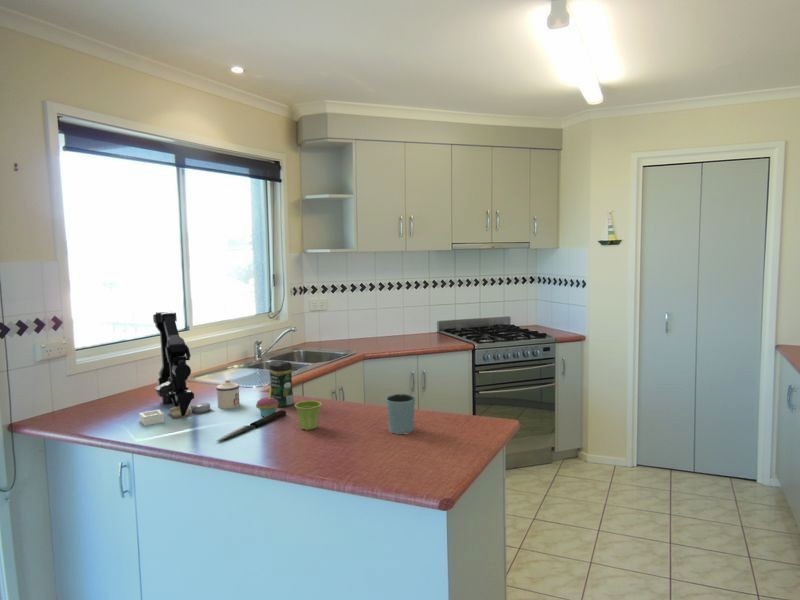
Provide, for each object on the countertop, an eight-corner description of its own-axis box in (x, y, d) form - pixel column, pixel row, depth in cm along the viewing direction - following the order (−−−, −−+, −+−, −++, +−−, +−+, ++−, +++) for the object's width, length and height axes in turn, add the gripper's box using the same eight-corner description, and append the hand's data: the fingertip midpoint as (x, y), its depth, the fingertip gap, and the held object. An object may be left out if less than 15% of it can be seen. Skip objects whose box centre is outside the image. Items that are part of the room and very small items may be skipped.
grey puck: (188, 410, 224) (188, 405, 224) (206, 406, 229) (205, 401, 229) (195, 414, 219) (195, 409, 218) (213, 410, 224) (213, 405, 223)
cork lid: (168, 414, 219) (167, 408, 219) (186, 410, 224) (186, 404, 224) (174, 418, 214) (173, 411, 214) (192, 414, 219) (192, 408, 218)
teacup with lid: (238, 409, 227) (237, 381, 225) (215, 411, 225) (213, 382, 224) (242, 402, 238) (241, 375, 237) (220, 403, 237) (219, 376, 236)
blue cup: (412, 425, 202) (411, 392, 201) (418, 434, 192) (418, 400, 191) (384, 427, 200) (383, 395, 199) (390, 437, 190) (389, 402, 189)
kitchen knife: (275, 409, 220) (286, 410, 218) (275, 414, 220) (286, 415, 218) (210, 437, 188) (221, 439, 186) (210, 443, 188) (222, 445, 186)
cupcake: (283, 413, 220) (282, 383, 219) (270, 419, 212) (268, 388, 211) (266, 411, 224) (264, 382, 222) (252, 417, 216) (250, 386, 215)
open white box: (139, 423, 212) (139, 412, 211) (159, 419, 216) (158, 409, 215) (144, 427, 206) (143, 417, 206) (164, 423, 210) (163, 413, 210)
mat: (166, 415, 221) (166, 413, 221) (206, 408, 230) (206, 406, 230) (173, 421, 213) (173, 419, 213) (215, 413, 222) (215, 411, 222)
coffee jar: (267, 404, 233) (265, 360, 232) (282, 400, 239) (280, 357, 238) (281, 408, 227) (279, 363, 225) (296, 404, 233) (295, 360, 231)
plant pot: (326, 424, 205) (325, 401, 204) (314, 432, 196) (313, 408, 195) (303, 422, 208) (303, 399, 207) (290, 430, 199) (290, 406, 198)
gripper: (150, 373, 220) (152, 412, 221) (162, 381, 205) (165, 423, 207) (179, 369, 227) (181, 407, 228) (193, 377, 212) (195, 417, 213)
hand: (180, 413), depth 219 cm, fingers closed on cork lid, 7 cm apart
